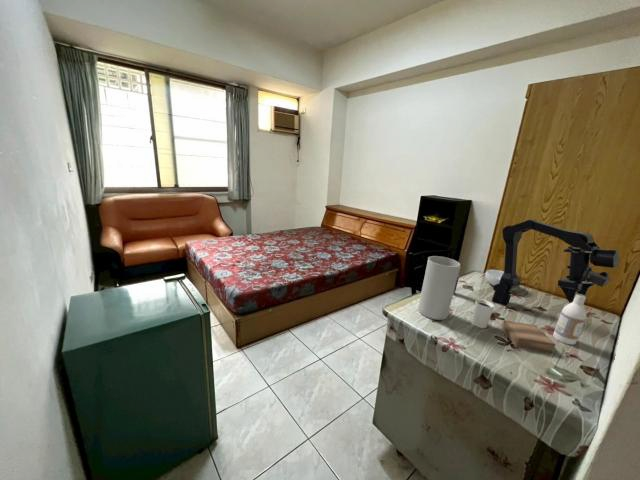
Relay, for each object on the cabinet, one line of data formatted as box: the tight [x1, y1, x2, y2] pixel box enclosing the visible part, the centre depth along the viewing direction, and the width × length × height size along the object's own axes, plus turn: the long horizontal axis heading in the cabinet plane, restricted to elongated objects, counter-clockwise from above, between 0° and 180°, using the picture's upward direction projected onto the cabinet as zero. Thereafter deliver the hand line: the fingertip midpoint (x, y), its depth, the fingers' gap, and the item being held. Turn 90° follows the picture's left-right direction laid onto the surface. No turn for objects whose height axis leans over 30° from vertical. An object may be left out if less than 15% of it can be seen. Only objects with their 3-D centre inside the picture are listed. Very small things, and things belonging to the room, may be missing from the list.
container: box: [453, 266, 462, 296], centre depth 138 cm, size 5×5×15 cm
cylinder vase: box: [417, 255, 461, 321], centre depth 115 cm, size 12×12×25 cm
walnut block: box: [501, 320, 556, 354], centre depth 102 cm, size 12×12×4 cm
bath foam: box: [553, 293, 587, 346], centre depth 102 cm, size 7×7×20 cm
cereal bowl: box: [485, 269, 504, 287], centre depth 152 cm, size 17×17×7 cm
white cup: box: [471, 298, 495, 329], centre depth 111 cm, size 7×7×10 cm
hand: (576, 301), depth 107 cm, fingers open, 9 cm apart
